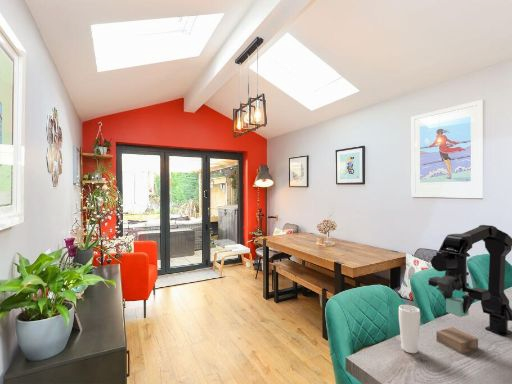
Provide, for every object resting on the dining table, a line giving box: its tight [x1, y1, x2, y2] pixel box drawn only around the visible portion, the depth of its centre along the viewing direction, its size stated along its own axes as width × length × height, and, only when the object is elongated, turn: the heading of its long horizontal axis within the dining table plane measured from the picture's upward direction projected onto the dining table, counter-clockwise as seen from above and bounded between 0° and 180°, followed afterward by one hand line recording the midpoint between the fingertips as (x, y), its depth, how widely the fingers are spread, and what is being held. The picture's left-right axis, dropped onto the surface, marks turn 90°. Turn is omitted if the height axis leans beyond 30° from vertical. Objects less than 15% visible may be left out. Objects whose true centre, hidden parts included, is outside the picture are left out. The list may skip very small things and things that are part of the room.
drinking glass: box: [398, 304, 421, 354], centre depth 99 cm, size 7×7×15 cm
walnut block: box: [435, 327, 479, 355], centre depth 102 cm, size 9×9×4 cm
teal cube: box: [445, 296, 470, 318], centre depth 103 cm, size 5×5×5 cm
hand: (457, 310), depth 103 cm, fingers closed on teal cube, 5 cm apart
